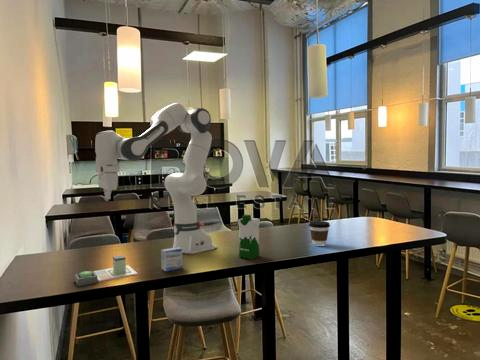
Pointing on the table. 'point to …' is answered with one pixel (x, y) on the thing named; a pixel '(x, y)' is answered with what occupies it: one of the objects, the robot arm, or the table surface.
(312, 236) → the coffee cup
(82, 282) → the button housing
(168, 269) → the medicine box
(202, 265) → the table surface
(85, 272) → the button
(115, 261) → the marker block
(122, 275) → the picture board
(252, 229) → the milk carton
